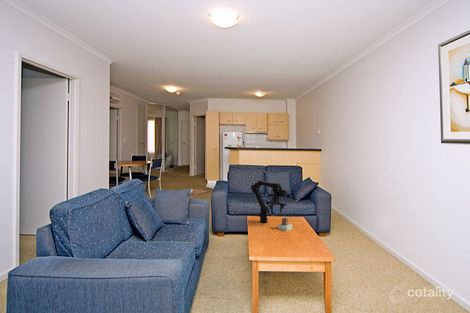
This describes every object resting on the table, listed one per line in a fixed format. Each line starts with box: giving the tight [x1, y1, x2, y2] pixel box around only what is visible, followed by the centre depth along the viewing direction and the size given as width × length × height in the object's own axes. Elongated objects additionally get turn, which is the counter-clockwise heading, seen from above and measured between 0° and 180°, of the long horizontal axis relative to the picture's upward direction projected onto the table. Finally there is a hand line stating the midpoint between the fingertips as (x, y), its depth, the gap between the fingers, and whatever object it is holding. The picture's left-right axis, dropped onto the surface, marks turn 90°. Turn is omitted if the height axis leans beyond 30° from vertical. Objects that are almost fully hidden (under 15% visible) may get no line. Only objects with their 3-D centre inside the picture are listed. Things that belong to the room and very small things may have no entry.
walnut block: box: [281, 216, 289, 226], centre depth 235 cm, size 4×4×6 cm
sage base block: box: [277, 223, 293, 232], centre depth 236 cm, size 9×9×4 cm
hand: (275, 212), depth 247 cm, fingers open, 9 cm apart
